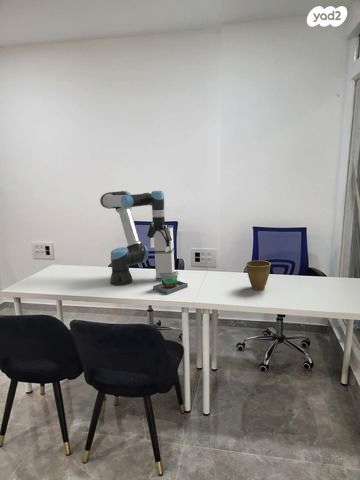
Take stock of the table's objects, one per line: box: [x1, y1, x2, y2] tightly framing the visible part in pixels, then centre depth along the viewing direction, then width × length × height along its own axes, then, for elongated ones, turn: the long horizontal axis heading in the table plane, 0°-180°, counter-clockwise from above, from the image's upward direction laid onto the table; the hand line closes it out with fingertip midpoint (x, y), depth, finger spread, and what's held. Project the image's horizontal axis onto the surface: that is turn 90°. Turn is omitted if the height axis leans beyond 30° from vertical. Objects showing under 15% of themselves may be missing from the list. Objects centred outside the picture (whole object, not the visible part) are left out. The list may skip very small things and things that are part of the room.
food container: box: [160, 269, 179, 289], centre depth 218 cm, size 12×6×10 cm, turn 106°
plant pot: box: [245, 259, 272, 291], centre depth 213 cm, size 15×15×16 cm
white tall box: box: [153, 227, 176, 282], centre depth 237 cm, size 11×11×35 cm
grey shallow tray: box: [152, 279, 189, 296], centre depth 220 cm, size 14×18×2 cm
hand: (159, 249), depth 216 cm, fingers open, 13 cm apart
